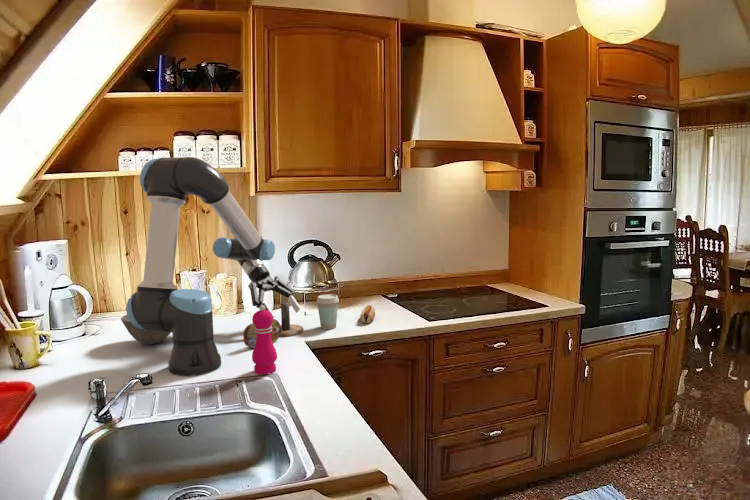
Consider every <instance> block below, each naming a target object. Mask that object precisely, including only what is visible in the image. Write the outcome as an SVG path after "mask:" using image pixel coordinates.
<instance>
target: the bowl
mask: <svg viewBox="0 0 750 500" xmlns="http://www.w3.org/2000/svg"><path fill="white" fill-rule="evenodd" d="M120 321H121V322H122V323H123V325H124V327H125V328H126V330H127V332H128V334H130V335H131V337H132V338H133V339H134V340H136V341H137V342H139V344H143V345H154V344H159V343H161V342H163V341H164V340H165V339H166V338H168V337H169V336H170V335H171V333H172V332H163V331H153V330H152V331H147V330H144V329H139V328H137V327H135V326H133V325H132V323H131V322H130V321H129V319H128V316H127V314H126V315H123V316H122V317H121V318H120Z"/></svg>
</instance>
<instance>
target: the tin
mask: <svg viewBox="0 0 750 500" xmlns="http://www.w3.org/2000/svg"><path fill="white" fill-rule="evenodd" d="M280 325H281V324H280V321H278V320H277V319H275V318H273V322H272V324H271V326H272V331H271V341H272V343H273V344H274V343H275V342H277V341H278V339H279V338H280V337H279V336H280V333H281V326H280ZM255 327H256V326H255V325H254V324H253V322H252V323H250V324H248V325H247V326H246V327H245V329H244V330H243V333H242V335H243V336H242V338H243V339H242V340H243V343H244V345H245V346H246V347H248V348H251V349H254V347H255V345H256V338H257V336H256V333H255V329H254V328H255Z"/></svg>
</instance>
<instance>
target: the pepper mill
mask: <svg viewBox="0 0 750 500" xmlns="http://www.w3.org/2000/svg"><path fill="white" fill-rule="evenodd" d="M273 319H274V318H273V315H272V313H271V312H269V311H267V310H265V306H264V305H261V306H260V307H259V308H258V311H255V313H254V314H253V315H252V319H251V320H252V323H253V324H254V325H255V326H256V327H255V328H254V329H255V333H256V336H257V338H256V345H255V347H254V348H253V350H252V354H251V361H252V362H253V363H254V364H255V365H254V366H253V369H254V373H255V374H256V375H259V374H267V375H269V374H268V373H271V374H274V373H275V372H276V370H277V368H276V367H277V364H276V363H275V362H276V361H277V359H278V353H277V351H276V347H275V346H274V343H272V341H271V331H272V326H271V324H272V322H273ZM273 372H274V373H273Z"/></svg>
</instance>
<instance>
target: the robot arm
mask: <svg viewBox="0 0 750 500" xmlns="http://www.w3.org/2000/svg"><path fill="white" fill-rule="evenodd" d="M139 175H140V176H139V184H140V185H141V186H142V187H141V188H142V190H143V192H144V193H145V194H146V199H147V201H148V202H149V203H150V211H149V222H148V234H147V243H146V254H145V261H144V262H145V263H144V270H143V280H142V282H140V283H139V284H137V288H136V291H135V292H133V293H132V294H131V295H130V298H128V300H127V303H126V306H125V307H126V309H125V310H126V311H125V312H126V315H127V316H128V319H129V321H130V322H131V323H132V325H133V326H135V327H137V328H139V329H144V330H147V331H152V330H153V331H163V332H171V333H172V342H173V345H172V348H171V353H170V359H169V360H168V372H169V373H170V374H172V375H175V376H180V377H181V376H183V377H185V376H188V377H190V376H198V375H204V374H207V373H210V372H214V371H216V370H217V369H219V368H220V367H221V366H222V357H221V354H220V353H219V351H218V348H217V345H216V342H215V339H214V336H215V335H214V318H213V315H214V314H213V303H212V298H211V295H210V294H209V293H208V292H207V291H204V290H201V289H195V288H190V289H189V288H182V289H181V288H180V289H178V287H177V286H176V285H175V283H174V277H175V276H174V274H175V264H176V257H177V256H176V253H177V243H178V235H179V234H178V232H179V222H180V213H181V208H182V206H184V205H185V204H186V203H187V196H194V197H195V196H196V197H198V198H200V200H201V201H202V202H203V203H204V204H206V205H210V207H211V208H212V209H213V211H214V213H216V215H217V216H218V217H219V219H221V221H222V222H223V223H224V226H226V228H227V229H228V230H229V232H230V233H231V234H232V235H233V237H234V238H228V237H223V236H221V237H218V238H217V239H215V241H214V242H213V244H212V252H213V254H214V256H215V257H218V258H220V259H227V260H233V261H236V262H238V264H239V265H240V266H241V269H242V270H243V271H244V273H245V274H246V275H247V276H248V279H249V280H250V282H249V284H248V289H249V291H250V296H251V303H252V307H256V308H258V309H259V307H260V306H261V305H264V306H265V310H267V311H269V312H271V313H272V315H273V319H275V317H276V315H275V314H274V313H273V311H272V309H271V308H270V306H269V305H268V304H267V302H266V301H265V299H264V296H265V292H269V291H270V292H271V291H272V292H276V293H278V294H280V295H281V296H283V297H285V298H287V299H286V300H287V302H288V303H289V306H291V307H292V309H293V311H294V312H295V313H298V312H299V311H300V310H301V309H302V307H301V306H300V305H299V303H298V300H297V299H296V298H295V296H294V294H295V293H296V290H294V289H293V288H291V286H289V285H288V284H286V283H285V282H284V281H283V280H281V278H280V277H279V276H277V275H276V276H275V277H273V278H272V277H271V276H270V274H271V273H270V271H269V270H268V269H267V267H266V266H265V264H264V263H263V261H270V260H272V259H273V258H274V255H275V253H276V247H275V243H274V241H272V240H270V239H266V238H265V239H263V237H262V236H261V235H260V233H259V231H258V230H257V228H256V227H255V225H254V224H253V222H252V221H251V220H250V219H249V217H248V215H247V214H246V213H245V212H244V210H243V208H242V207H241V206H240V204H239V203H238V202H237V200H236V198H235V197H234V196H233V194H232V193H231V192H230V188H231V187H230V185H229V183H228V182H227V180H226V179H225V177H224V176H223V175H222V174H221V173H220V172H219V170H217V169H216V168H214V167H213V166H212V165H211V164H209V163H207V162H206V161H204V160H202V159H201V158H197V157H193V156H185V157H160V158H159V157H158V158H153V159H150V160H149V161H148V162H146V163H145V164H144V165H143V167H142V169H141V171H140V174H139ZM257 289H258V290H257Z"/></svg>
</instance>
